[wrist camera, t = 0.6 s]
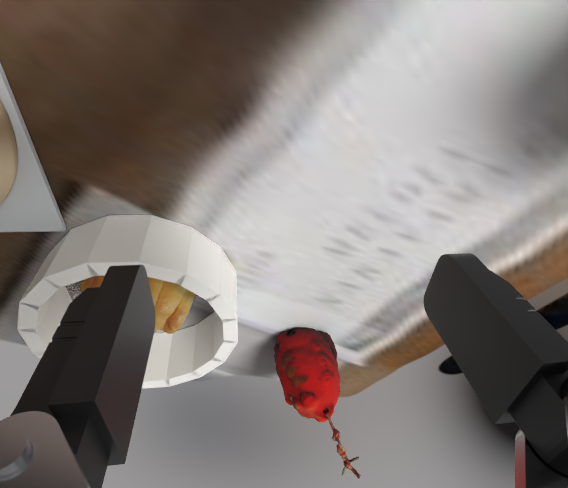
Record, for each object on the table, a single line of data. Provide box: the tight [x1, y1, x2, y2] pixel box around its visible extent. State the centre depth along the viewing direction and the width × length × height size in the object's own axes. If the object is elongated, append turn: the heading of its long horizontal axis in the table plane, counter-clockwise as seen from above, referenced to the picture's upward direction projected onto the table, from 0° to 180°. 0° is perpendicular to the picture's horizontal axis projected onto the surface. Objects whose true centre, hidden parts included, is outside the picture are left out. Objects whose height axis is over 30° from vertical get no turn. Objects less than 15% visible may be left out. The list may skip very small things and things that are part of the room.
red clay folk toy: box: [274, 328, 361, 478], centre depth 35 cm, size 8×7×15 cm
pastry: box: [80, 276, 196, 334], centre depth 31 cm, size 9×7×4 cm
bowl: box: [17, 215, 238, 388], centre depth 30 cm, size 16×16×6 cm
